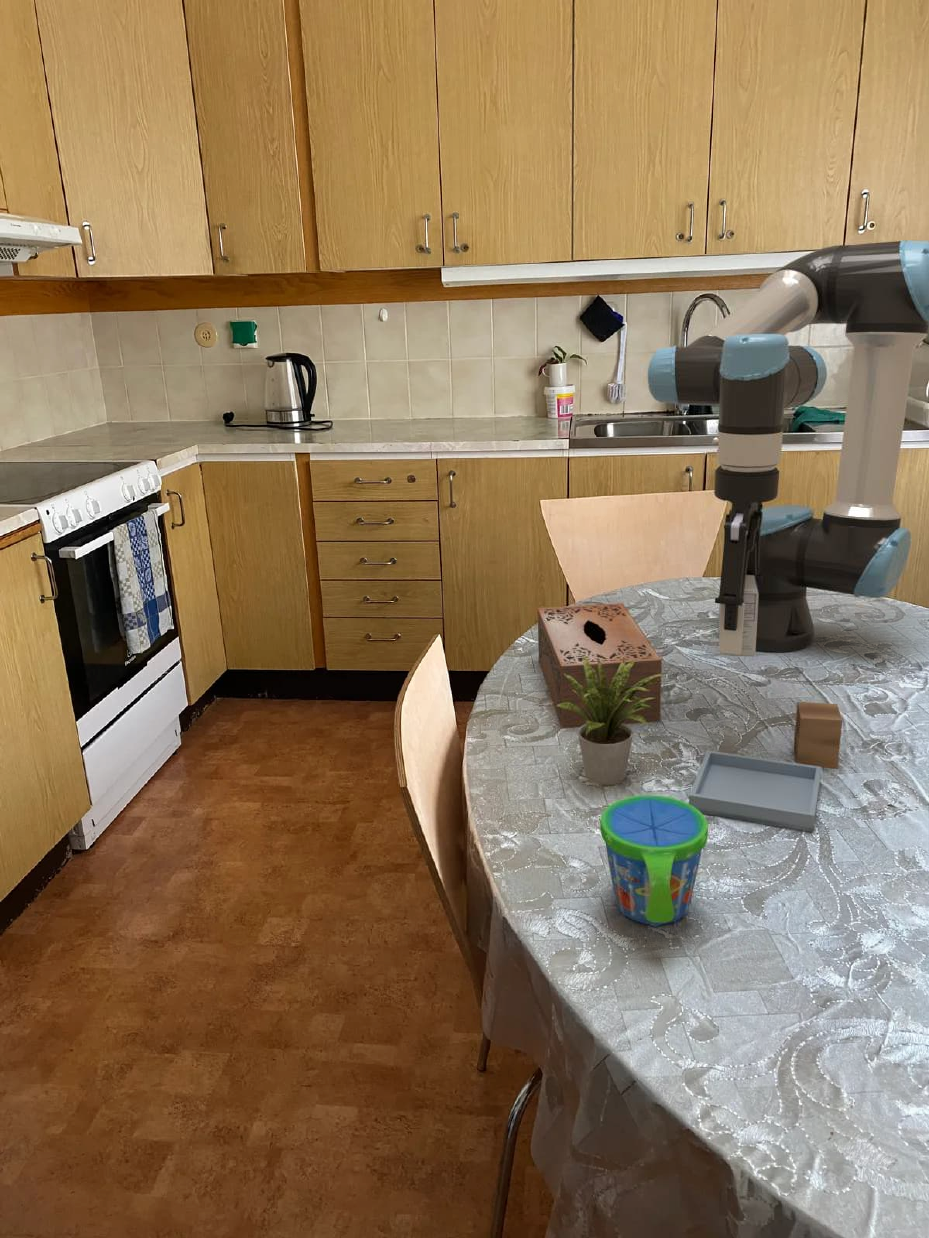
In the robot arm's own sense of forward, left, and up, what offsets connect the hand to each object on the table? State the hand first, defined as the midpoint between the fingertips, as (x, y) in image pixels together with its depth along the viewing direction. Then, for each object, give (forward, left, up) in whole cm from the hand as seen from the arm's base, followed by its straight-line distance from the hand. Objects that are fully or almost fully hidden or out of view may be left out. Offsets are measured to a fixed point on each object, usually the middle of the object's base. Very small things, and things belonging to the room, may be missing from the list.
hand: (736, 640), depth 122 cm
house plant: (+13, -14, -17) cm, 25 cm away
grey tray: (+11, +5, -16) cm, 20 cm away
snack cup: (+36, -2, -17) cm, 40 cm away
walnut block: (-2, +11, -16) cm, 20 cm away
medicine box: (0, 0, -1) cm, 1 cm away
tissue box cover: (-15, -23, -17) cm, 32 cm away
